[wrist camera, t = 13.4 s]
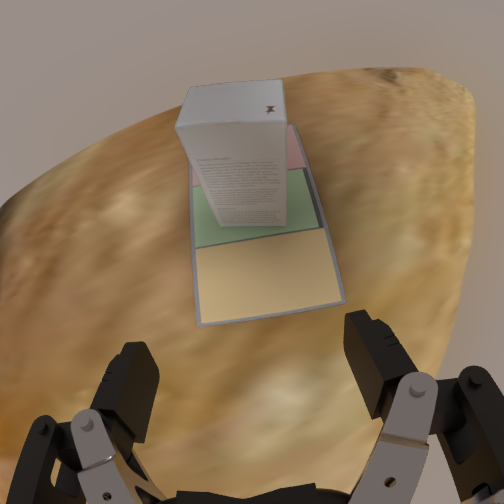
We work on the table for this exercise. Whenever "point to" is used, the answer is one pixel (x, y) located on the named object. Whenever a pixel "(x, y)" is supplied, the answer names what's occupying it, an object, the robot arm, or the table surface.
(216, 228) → the multicoloured flat board
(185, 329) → the table surface
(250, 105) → the skincare box
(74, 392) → the table surface
